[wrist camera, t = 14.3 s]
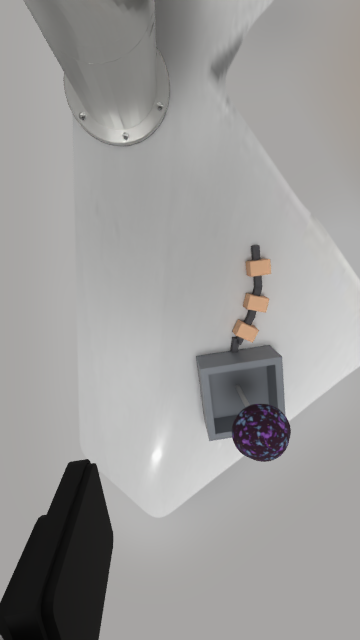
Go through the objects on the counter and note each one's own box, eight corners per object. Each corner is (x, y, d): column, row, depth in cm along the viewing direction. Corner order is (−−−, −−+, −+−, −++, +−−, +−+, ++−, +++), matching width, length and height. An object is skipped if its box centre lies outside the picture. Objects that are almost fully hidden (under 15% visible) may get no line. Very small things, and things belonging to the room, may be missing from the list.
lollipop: (260, 365, 47) (304, 420, 33) (257, 405, 49) (297, 475, 34) (216, 366, 47) (240, 422, 32) (214, 406, 48) (237, 477, 34)
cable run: (248, 243, 44) (253, 244, 41) (274, 247, 44) (280, 248, 42) (228, 350, 47) (231, 355, 45) (252, 353, 48) (256, 358, 46)
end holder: (196, 356, 47) (200, 369, 42) (269, 345, 48) (281, 356, 43) (204, 421, 50) (209, 440, 45) (273, 410, 50) (286, 428, 46)
